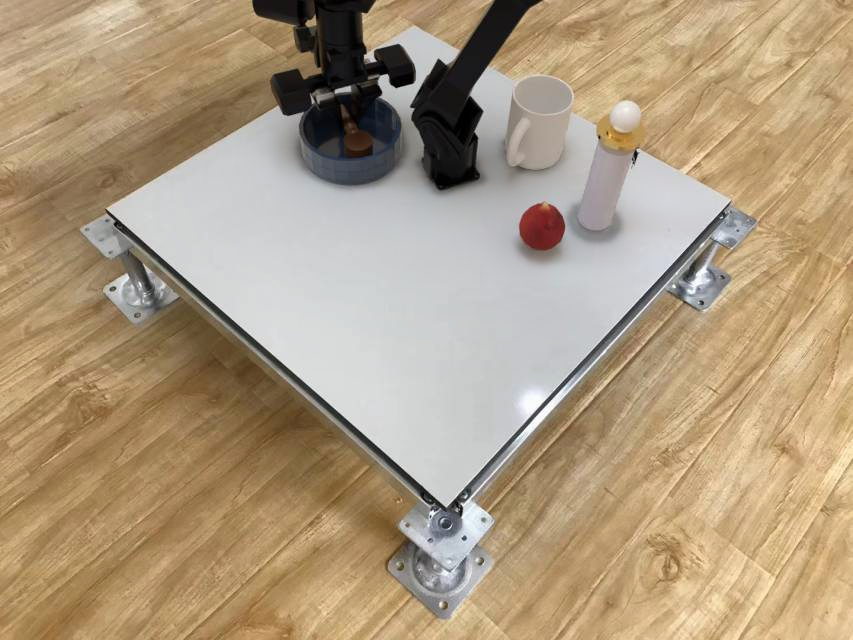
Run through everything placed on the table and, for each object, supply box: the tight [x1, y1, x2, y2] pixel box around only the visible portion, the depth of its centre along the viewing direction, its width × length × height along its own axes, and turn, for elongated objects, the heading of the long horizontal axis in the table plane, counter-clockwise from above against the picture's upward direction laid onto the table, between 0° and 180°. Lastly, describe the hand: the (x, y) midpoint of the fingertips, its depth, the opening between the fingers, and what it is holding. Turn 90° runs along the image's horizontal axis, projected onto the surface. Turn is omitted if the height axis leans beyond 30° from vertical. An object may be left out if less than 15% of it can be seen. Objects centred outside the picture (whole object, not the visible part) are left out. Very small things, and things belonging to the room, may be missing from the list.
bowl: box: [298, 91, 403, 186], centre depth 108 cm, size 14×14×4 cm
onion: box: [518, 201, 566, 252], centre depth 98 cm, size 6×6×8 cm
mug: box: [504, 74, 575, 171], centre depth 106 cm, size 12×8×10 cm
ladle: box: [341, 104, 373, 159], centre depth 108 cm, size 10×4×3 cm, turn 23°
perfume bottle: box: [576, 99, 647, 231], centre depth 95 cm, size 6×6×20 cm
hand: (347, 127), depth 109 cm, fingers closed on ladle, 2 cm apart
